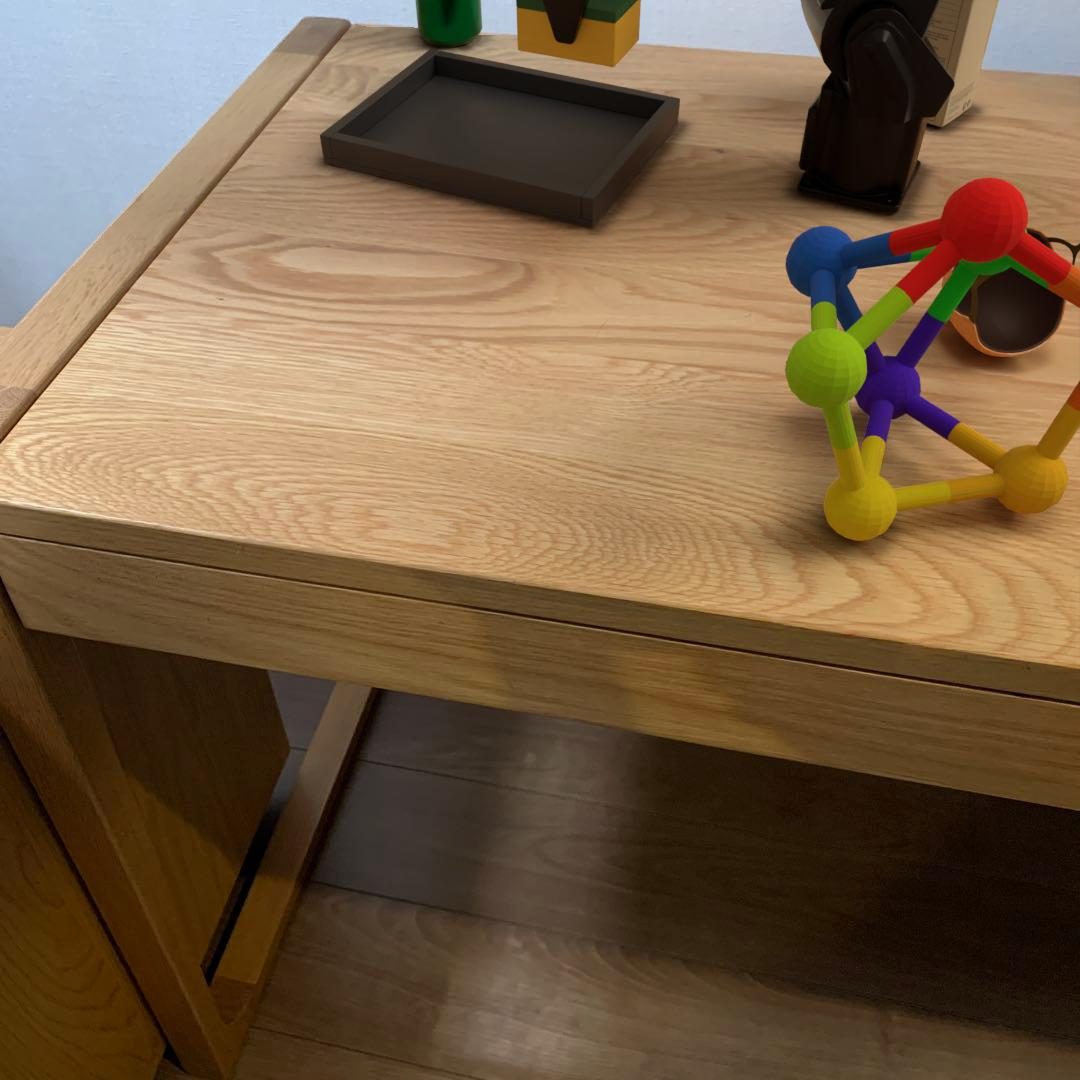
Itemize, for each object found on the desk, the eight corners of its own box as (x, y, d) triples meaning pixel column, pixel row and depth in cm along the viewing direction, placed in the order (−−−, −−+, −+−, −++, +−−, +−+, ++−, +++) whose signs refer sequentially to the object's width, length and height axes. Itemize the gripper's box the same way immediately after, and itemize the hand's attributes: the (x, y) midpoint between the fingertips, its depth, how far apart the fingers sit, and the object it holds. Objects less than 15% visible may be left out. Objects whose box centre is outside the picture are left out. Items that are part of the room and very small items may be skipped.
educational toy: (931, 351, 57) (1045, 73, 46) (1091, 521, 49) (1275, 236, 38) (669, 408, 53) (722, 118, 42) (797, 604, 45) (906, 311, 34)
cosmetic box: (972, 109, 75) (1027, -83, 66) (941, 131, 73) (994, -65, 64) (891, 82, 78) (934, -105, 69) (859, 103, 76) (899, -88, 67)
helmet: (1129, 307, 50) (1059, 347, 58) (1078, 174, 50) (1015, 231, 58) (1008, 348, 50) (955, 382, 58) (958, 215, 50) (912, 267, 58)
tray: (678, 126, 74) (680, 97, 73) (592, 229, 65) (593, 199, 64) (432, 75, 80) (430, 48, 79) (324, 163, 71) (319, 134, 70)
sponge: (545, 24, 64) (545, -29, 62) (639, 40, 62) (641, -14, 60) (517, 50, 62) (515, -4, 60) (613, 67, 60) (615, 12, 58)
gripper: (513, -357, 58) (521, -46, 69) (330, -289, 46) (376, 70, 58) (709, -347, 55) (684, -22, 66) (565, -270, 43) (564, 106, 55)
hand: (580, 27), depth 61 cm, fingers closed on sponge, 4 cm apart
